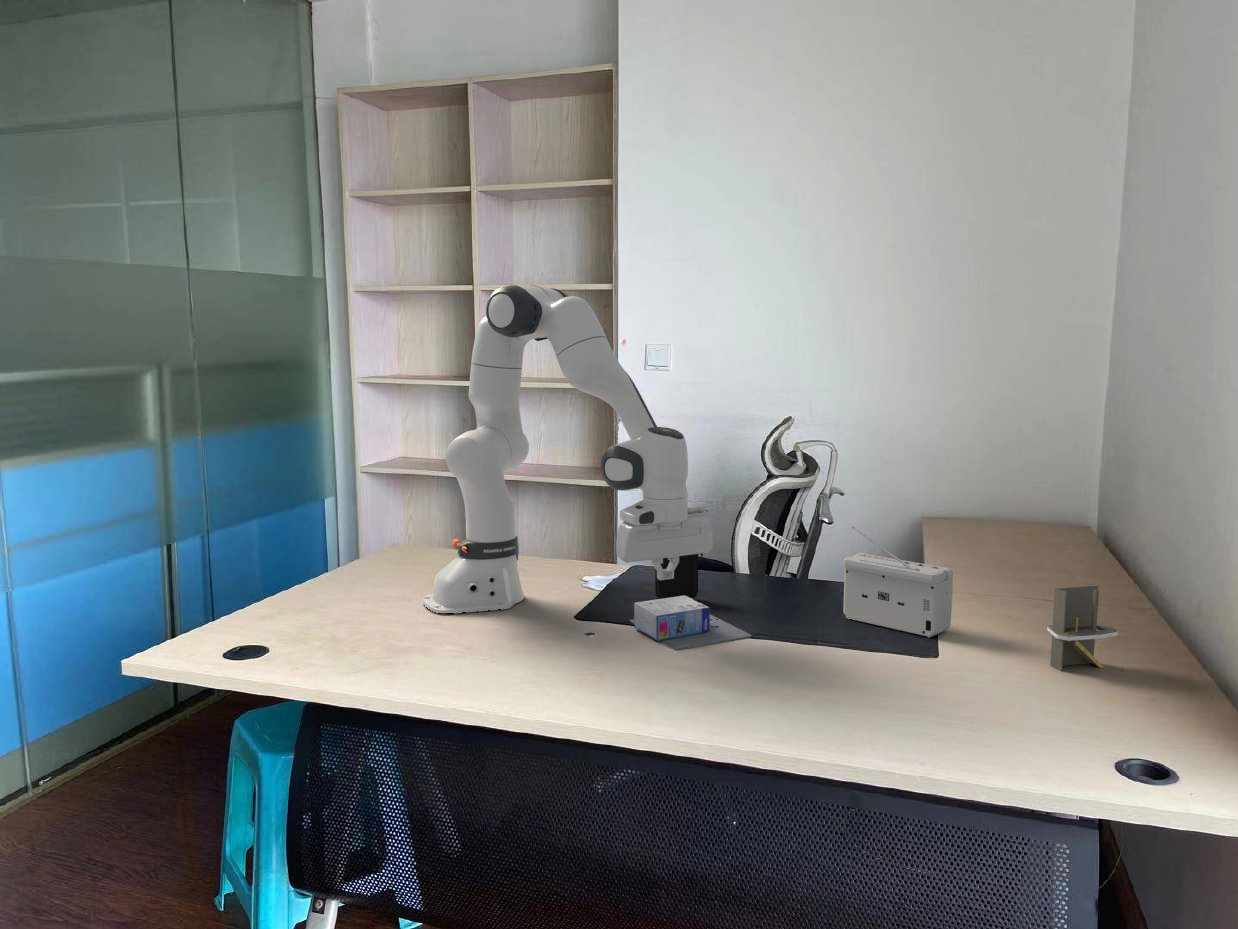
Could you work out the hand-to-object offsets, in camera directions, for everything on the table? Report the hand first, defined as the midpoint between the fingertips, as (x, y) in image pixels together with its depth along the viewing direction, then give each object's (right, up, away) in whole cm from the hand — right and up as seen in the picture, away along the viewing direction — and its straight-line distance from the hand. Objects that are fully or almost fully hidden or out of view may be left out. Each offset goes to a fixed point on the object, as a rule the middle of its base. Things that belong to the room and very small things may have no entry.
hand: (665, 578), depth 185 cm
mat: (+5, -11, +4) cm, 12 cm away
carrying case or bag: (+4, -8, +25) cm, 26 cm away
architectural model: (+73, -14, -19) cm, 76 cm away
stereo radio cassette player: (+47, -10, +6) cm, 49 cm away
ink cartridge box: (-4, -9, -1) cm, 10 cm away
